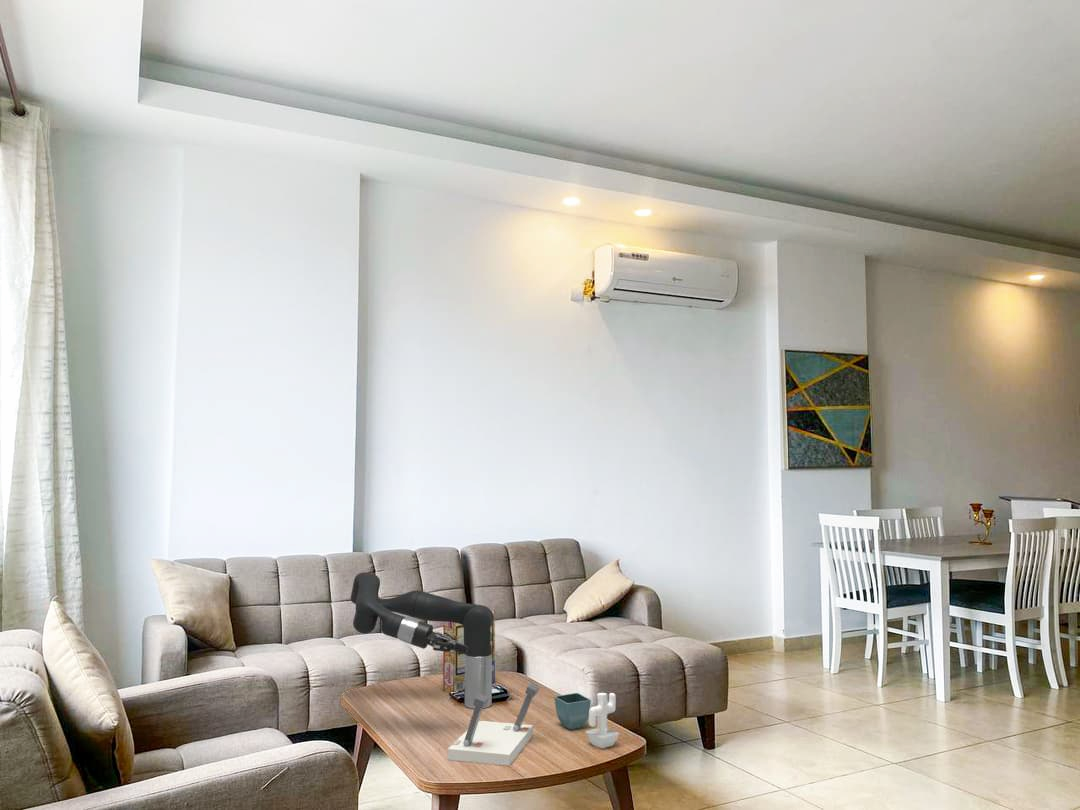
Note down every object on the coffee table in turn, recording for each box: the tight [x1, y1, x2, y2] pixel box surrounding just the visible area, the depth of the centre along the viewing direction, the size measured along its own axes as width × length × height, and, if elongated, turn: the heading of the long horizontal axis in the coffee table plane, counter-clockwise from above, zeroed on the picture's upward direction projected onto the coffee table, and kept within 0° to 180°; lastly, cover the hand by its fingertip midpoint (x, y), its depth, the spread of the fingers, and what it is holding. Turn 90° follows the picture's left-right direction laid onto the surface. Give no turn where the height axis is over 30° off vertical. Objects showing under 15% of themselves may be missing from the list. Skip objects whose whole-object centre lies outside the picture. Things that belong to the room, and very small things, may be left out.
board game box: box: [442, 609, 496, 694], centre depth 306 cm, size 20×6×27 cm, turn 135°
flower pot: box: [553, 692, 592, 730], centre depth 261 cm, size 9×9×9 cm
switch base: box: [447, 720, 534, 767], centre depth 243 cm, size 26×18×3 cm
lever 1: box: [463, 694, 489, 746], centre depth 236 cm, size 4×3×14 cm, turn 166°
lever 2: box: [513, 682, 540, 731], centre depth 249 cm, size 4×3×14 cm, turn 166°
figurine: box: [584, 692, 620, 749], centre depth 245 cm, size 7×9×15 cm
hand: (466, 650), depth 257 cm, fingers closed
